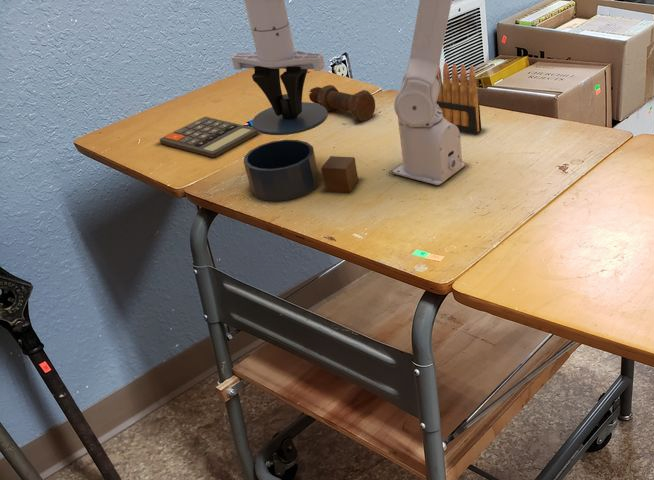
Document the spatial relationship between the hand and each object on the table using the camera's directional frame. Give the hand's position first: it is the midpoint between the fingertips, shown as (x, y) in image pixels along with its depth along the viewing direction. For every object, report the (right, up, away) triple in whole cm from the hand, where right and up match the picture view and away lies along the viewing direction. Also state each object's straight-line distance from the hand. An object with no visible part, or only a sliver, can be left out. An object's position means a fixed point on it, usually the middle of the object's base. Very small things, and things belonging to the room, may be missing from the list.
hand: (289, 113), depth 115 cm
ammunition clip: (+27, +2, +16) cm, 32 cm away
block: (+8, -11, +2) cm, 14 cm away
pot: (-1, -11, +3) cm, 11 cm away
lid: (0, -1, +1) cm, 1 cm away
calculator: (-20, +2, +20) cm, 28 cm away
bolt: (+4, +9, +26) cm, 28 cm away
